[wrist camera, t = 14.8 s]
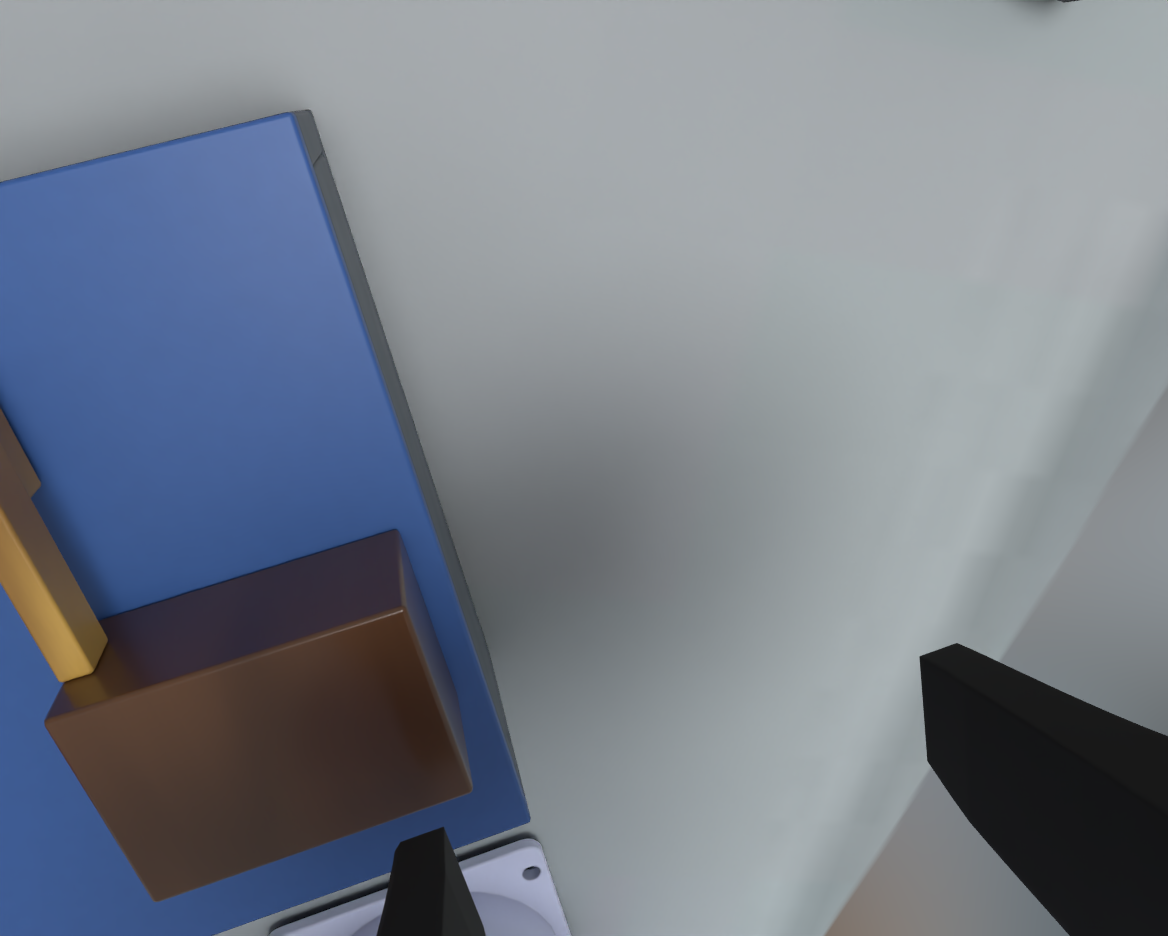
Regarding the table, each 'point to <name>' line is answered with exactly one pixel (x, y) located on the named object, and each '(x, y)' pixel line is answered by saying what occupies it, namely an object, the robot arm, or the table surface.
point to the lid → (198, 480)
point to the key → (240, 700)
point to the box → (400, 404)
